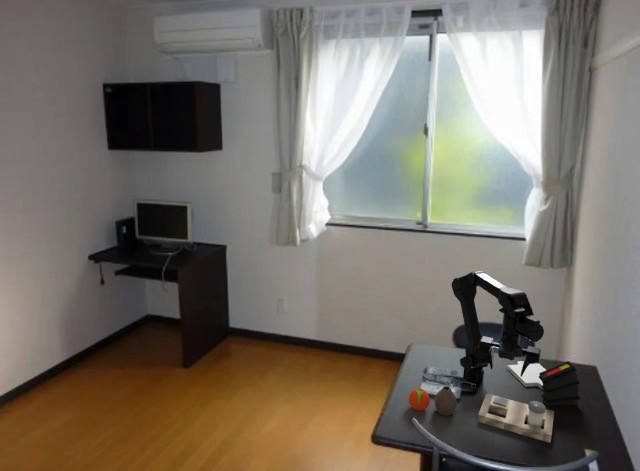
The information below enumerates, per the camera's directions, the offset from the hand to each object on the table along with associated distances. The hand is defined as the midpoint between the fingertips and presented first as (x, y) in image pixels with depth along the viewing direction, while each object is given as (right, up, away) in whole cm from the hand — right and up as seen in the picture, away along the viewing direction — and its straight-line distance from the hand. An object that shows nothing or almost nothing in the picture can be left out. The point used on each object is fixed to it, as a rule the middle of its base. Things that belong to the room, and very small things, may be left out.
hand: (506, 372), depth 158 cm
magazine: (+19, -12, +4) cm, 23 cm away
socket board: (+1, -14, -5) cm, 15 cm away
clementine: (-29, -12, -1) cm, 32 cm away
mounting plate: (+18, -8, +21) cm, 29 cm away
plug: (+5, -15, -10) cm, 18 cm away
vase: (-21, -13, -2) cm, 25 cm away
